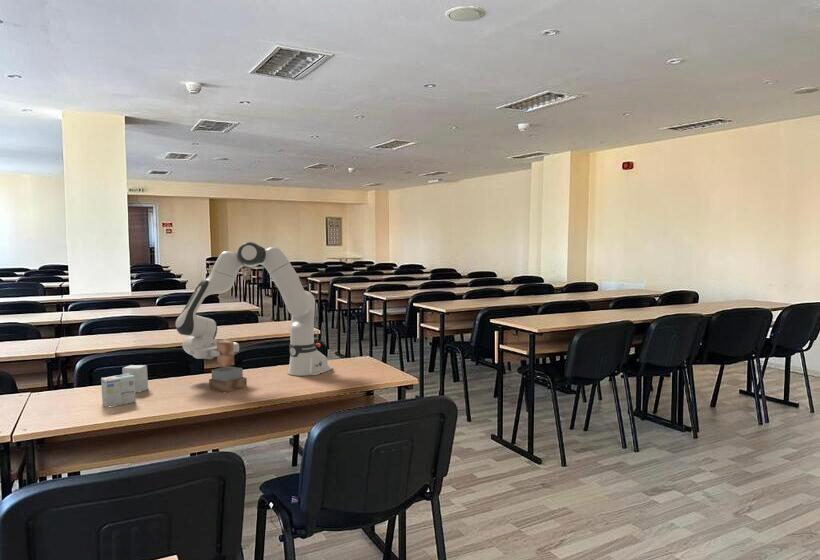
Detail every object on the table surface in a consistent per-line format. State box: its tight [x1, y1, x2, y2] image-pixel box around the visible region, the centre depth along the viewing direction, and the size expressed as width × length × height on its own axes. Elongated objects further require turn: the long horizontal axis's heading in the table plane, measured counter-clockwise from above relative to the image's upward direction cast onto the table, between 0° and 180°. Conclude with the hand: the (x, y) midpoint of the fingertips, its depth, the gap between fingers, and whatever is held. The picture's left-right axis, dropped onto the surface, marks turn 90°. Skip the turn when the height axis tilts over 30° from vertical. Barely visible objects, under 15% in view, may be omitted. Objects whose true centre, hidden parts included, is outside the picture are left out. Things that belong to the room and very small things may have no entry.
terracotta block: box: [216, 340, 235, 367], centre depth 238 cm, size 5×5×10 cm
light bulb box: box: [100, 373, 137, 408], centre depth 216 cm, size 11×7×11 cm, turn 135°
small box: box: [121, 364, 149, 393], centre depth 235 cm, size 8×6×10 cm
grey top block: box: [211, 365, 244, 382], centre depth 239 cm, size 9×9×4 cm
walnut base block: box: [208, 376, 248, 393], centre depth 239 cm, size 11×11×4 cm
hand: (226, 352), depth 238 cm, fingers closed on terracotta block, 5 cm apart
